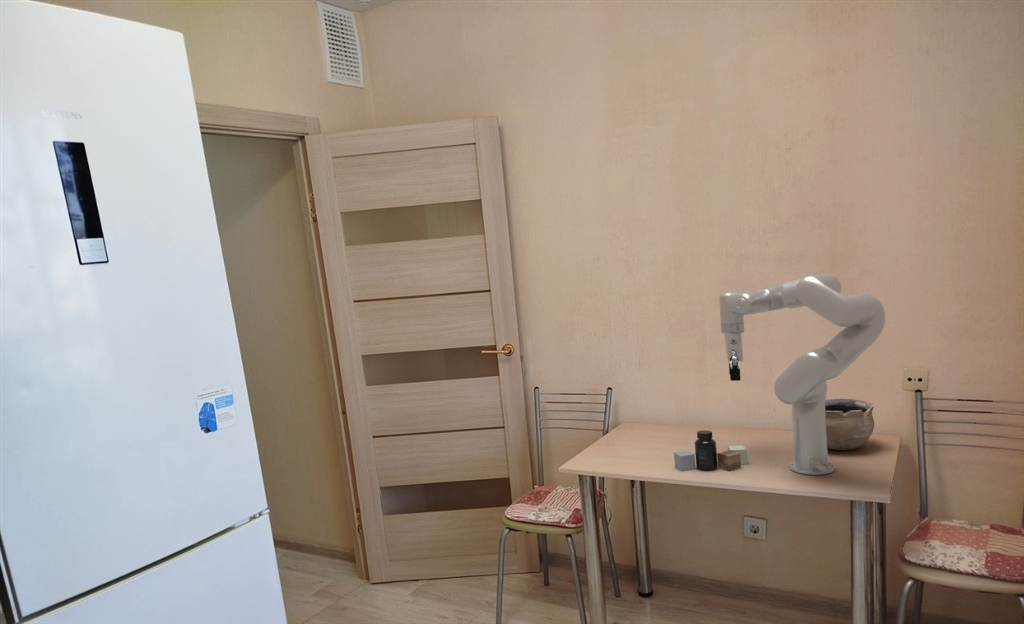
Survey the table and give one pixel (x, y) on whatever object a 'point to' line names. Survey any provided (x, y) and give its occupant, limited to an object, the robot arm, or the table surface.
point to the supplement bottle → (705, 451)
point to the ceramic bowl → (848, 423)
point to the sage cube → (741, 450)
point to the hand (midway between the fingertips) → (734, 377)
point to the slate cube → (684, 460)
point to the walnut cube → (729, 460)
